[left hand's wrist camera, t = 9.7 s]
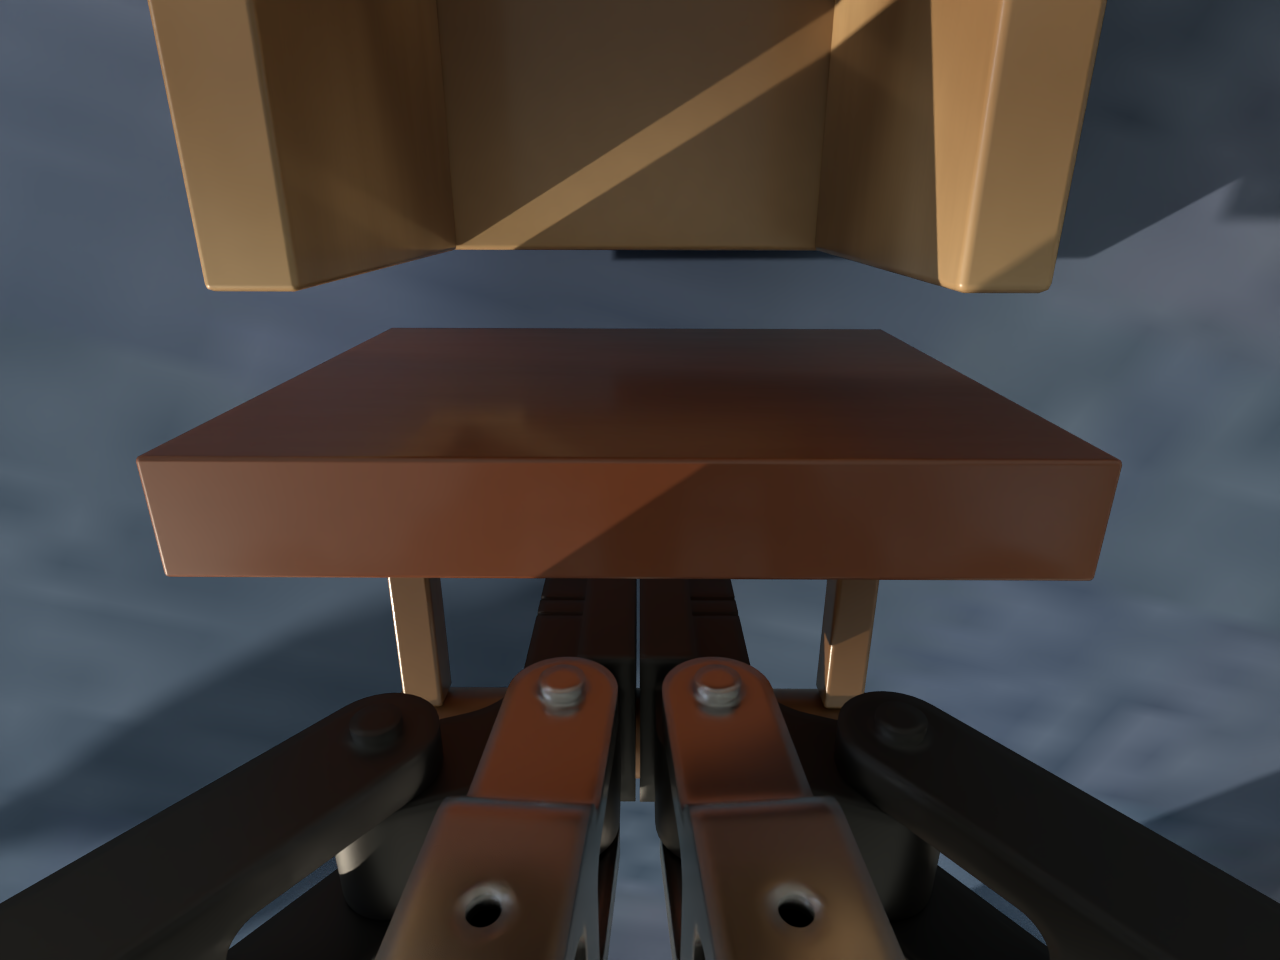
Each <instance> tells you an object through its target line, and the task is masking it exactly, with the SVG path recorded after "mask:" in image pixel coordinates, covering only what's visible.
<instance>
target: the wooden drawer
mask: <svg viewBox="0 0 1280 960" xmlns="http://www.w3.org/2000/svg"><path fill="white" fill-rule="evenodd" d="M1106 3H1107V0H148V5H149V10H150V15H151V19H152V24H153V29H154V34H155V39H156V44H157V49H158V54H159V59H160V64H161V69H162V74H163V79H164V84H165V88H166V93H167V98H168V103H169V108H170V113H171V118H172V123H173V128H174V133H175V138H176V143H177V148H178V153H179V157H180V162H181V167H182V172H183V177H184V182H185V187H186V192H187V197H188V202H189V207H190V212H191V217H192V222H193V226H194V231H195V236H196V241H197V246H198V251H199V256H200V261H201V266H202V271H203V276H204V281H205V285H206V287H207V288H208V289H210V290H213V291H298V290H302V289H306V288H310V287H313V286H317V285H321V284H325V283H329V282H333V281H336V280H340V279H344V278H348V277H352V276H356V275H359V274H363V273H367V272H371V271H375V270H379V269H382V268H386V267H390V266H394V265H398V264H402V263H405V262H409V261H413V260H417V259H421V258H425V257H428V256H432V255H436V254H440V253H444V252H448V251H451V250H809V251H821V252H824V253H828V254H831V255H835V256H838V257H842V258H845V259H848V260H852V261H855V262H859V263H862V264H866V265H869V266H873V267H876V268H880V269H883V270H886V271H890V272H893V273H897V274H900V275H904V276H907V277H911V278H914V279H917V280H921V281H924V282H928V283H931V284H935V285H938V286H942V287H945V288H949V289H952V290H955V291H959V292H962V293H1040V292H1043V291H1045V290H1048V289H1049V287H1050V285H1051V283H1052V278H1053V273H1054V268H1055V263H1056V258H1057V253H1058V247H1059V242H1060V237H1061V232H1062V227H1063V222H1064V217H1065V212H1066V207H1067V202H1068V196H1069V191H1070V186H1071V181H1072V176H1073V171H1074V166H1075V161H1076V156H1077V151H1078V145H1079V140H1080V135H1081V130H1082V125H1083V120H1084V115H1085V110H1086V105H1087V100H1088V94H1089V89H1090V84H1091V79H1092V74H1093V69H1094V64H1095V59H1096V54H1097V49H1098V43H1099V38H1100V33H1101V28H1102V23H1103V18H1104V13H1105V8H1106ZM136 463H137V467H138V471H139V474H140V478H141V482H142V486H143V490H144V494H145V498H146V502H147V506H148V509H149V513H150V517H151V521H152V525H153V529H154V533H155V537H156V541H157V544H158V548H159V552H160V556H161V560H162V564H163V568H164V572H165V574H166V575H167V576H169V577H385V578H388V585H389V592H390V600H391V607H392V614H393V622H394V629H395V636H396V644H397V651H398V658H399V666H400V673H401V681H402V688H403V691H402V692H401V693H406V694H412V695H416V696H419V697H421V698H423V699H425V700H427V701H428V702H430V703H431V704H432V705H433V706H434V707H435V709H436V710H437V713H438V715H439V719H443V718H447V717H452V716H456V715H460V714H465V713H469V712H473V711H476V710H479V709H482V708H485V707H487V706H489V705H491V704H493V703H495V702H497V701H499V700H500V699H502V698H503V697H505V694H506V691H507V689H508V687H450V685H451V675H450V665H449V656H448V647H447V637H446V628H445V619H444V609H443V600H442V590H441V581H440V578H609V579H827V587H826V597H825V606H824V616H823V625H822V635H821V644H820V654H819V663H818V673H817V682H816V686H817V688H818V689H773V691H774V694H775V697H776V699H777V702H779V703H781V704H783V705H785V706H787V707H790V708H792V709H795V710H798V711H801V712H805V713H809V714H813V715H818V716H822V717H826V718H831V719H835V720H838V715H839V712H840V709H841V708H842V706H843V705H844V704H845V703H846V702H847V701H848V700H849V699H851V698H853V697H855V696H857V695H860V694H863V693H865V692H864V690H865V683H866V675H867V668H868V660H869V653H870V645H871V638H872V630H873V623H874V615H875V608H876V601H877V593H878V586H879V580H1058V581H1090V580H1092V579H1093V578H1094V575H1095V571H1096V567H1097V563H1098V559H1099V555H1100V551H1101V547H1102V543H1103V539H1104V535H1105V531H1106V527H1107V523H1108V519H1109V515H1110V511H1111V507H1112V503H1113V499H1114V495H1115V491H1116V487H1117V483H1118V479H1119V475H1120V471H1121V467H1122V462H1121V460H1119V459H1117V458H1115V457H1113V456H1112V455H1110V454H1108V453H1106V452H1104V451H1102V450H1101V449H1099V448H1097V447H1095V446H1093V445H1091V444H1090V443H1088V442H1086V441H1084V440H1082V439H1080V438H1079V437H1077V436H1075V435H1073V434H1071V433H1069V432H1068V431H1066V430H1064V429H1062V428H1060V427H1058V426H1057V425H1055V424H1053V423H1051V422H1049V421H1047V420H1046V419H1044V418H1042V417H1040V416H1038V415H1036V414H1035V413H1033V412H1031V411H1029V410H1027V409H1025V408H1024V407H1022V406H1020V405H1018V404H1016V403H1014V402H1013V401H1011V400H1009V399H1007V398H1005V397H1003V396H1002V395H1000V394H998V393H996V392H994V391H992V390H991V389H989V388H987V387H985V386H983V385H982V384H980V383H978V382H976V381H974V380H972V379H971V378H969V377H967V376H965V375H963V374H961V373H960V372H958V371H956V370H954V369H952V368H950V367H949V366H947V365H945V364H943V363H941V362H939V361H938V360H936V359H934V358H932V357H930V356H928V355H927V354H925V353H923V352H921V351H919V350H917V349H916V348H914V347H912V346H910V345H908V344H906V343H905V342H903V341H901V340H899V339H897V338H895V337H894V336H892V335H890V334H888V333H886V332H884V331H883V330H880V329H569V328H391V329H389V330H387V331H385V332H383V333H381V334H379V335H377V336H375V337H373V338H371V339H369V340H367V341H365V342H363V343H361V344H359V345H357V346H355V347H353V348H351V349H349V350H347V351H345V352H344V353H342V354H340V355H338V356H336V357H334V358H332V359H330V360H328V361H326V362H324V363H322V364H320V365H318V366H316V367H314V368H312V369H310V370H308V371H306V372H304V373H302V374H300V375H298V376H296V377H294V378H292V379H290V380H288V381H286V382H284V383H282V384H280V385H278V386H276V387H274V388H272V389H270V390H268V391H267V392H265V393H263V394H261V395H259V396H257V397H255V398H253V399H251V400H249V401H247V402H245V403H243V404H241V405H239V406H237V407H235V408H233V409H231V410H229V411H227V412H225V413H223V414H221V415H219V416H217V417H215V418H213V419H211V420H209V421H207V422H205V423H203V424H201V425H199V426H197V427H195V428H193V429H191V430H189V431H188V432H186V433H184V434H182V435H180V436H178V437H176V438H174V439H172V440H170V441H168V442H166V443H164V444H162V445H160V446H158V447H156V448H154V449H152V450H150V451H148V452H146V453H144V454H142V455H140V456H138V457H137V460H136ZM636 778H640V688H636Z"/></svg>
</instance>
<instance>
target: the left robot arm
mask: <svg viewBox="0 0 1280 960" xmlns="http://www.w3.org/2000/svg"><path fill="white" fill-rule="evenodd" d="M636 645H637V598H636V579H609V578H546V579H545V584H544V588H543V592H542V596H541V600H540V604H539V609H538V616H537V617H536V621H535V625H534V630H533V634H532V638H531V642H530V646H529V651H528V655H527V659H526V663H525V667H524V669H523V670H522V671H520V672H519V673H518V674H517V675H516V676H515V677H514V678H513V680H512V681H511V682H510V684H509V686H508V689H507V691H506V694H505V697H503V698H502V699H500V700H499V701H497V702H495V703H493V704H491V705H489V706H487V707H485V708H482V709H479V710H476V711H473V712H469V713H465V714H460V715H456V716H452V717H447V718H443V719H439V715H438V713H437V710H436V709H435V707H434V706H433V705H432V704H431V703H430V702H428V701H427V700H425V699H423V698H421V697H419V696H416V695H412V694H406V693H385V694H379V695H374V696H370V697H366V698H363V699H361V700H358V701H355V702H353V703H351V704H349V705H347V706H345V707H343V708H342V709H340V710H338V711H336V712H335V713H333V714H331V715H329V716H328V717H326V718H324V719H322V720H321V721H319V722H317V723H315V724H314V725H312V726H310V727H308V728H307V729H305V730H303V731H301V732H300V733H298V734H296V735H294V736H293V737H291V738H289V739H287V740H286V741H284V742H282V743H280V744H279V745H277V746H275V747H273V748H272V749H270V750H268V751H266V752H265V753H263V754H261V755H259V756H258V757H256V758H254V759H252V760H251V761H249V762H247V763H245V764H244V765H242V766H240V767H238V768H237V769H235V770H233V771H231V772H230V773H228V774H226V775H224V776H223V777H221V778H219V779H217V780H216V781H214V782H212V783H210V784H209V785H207V786H205V787H203V788H202V789H200V790H198V791H196V792H195V793H193V794H191V795H189V796H188V797H186V798H184V799H182V800H181V801H179V802H177V803H175V804H174V805H172V806H170V807H168V808H167V809H165V810H163V811H161V812H160V813H158V814H156V815H154V816H153V817H151V818H149V819H147V820H146V821H144V822H142V823H140V824H139V825H137V826H135V827H133V828H132V829H130V830H128V831H126V832H125V833H123V834H121V835H119V836H118V837H116V838H114V839H112V840H111V841H109V842H107V843H105V844H104V845H102V846H100V847H98V848H97V849H95V850H93V851H91V852H90V853H88V854H86V855H84V856H83V857H81V858H79V859H77V860H76V861H74V862H72V863H70V864H69V865H67V866H65V867H63V868H62V869H60V870H58V871H56V872H55V873H53V874H51V875H49V876H48V877H46V878H44V879H42V880H41V881H39V882H37V883H35V884H34V885H32V886H30V887H28V888H27V889H25V890H23V891H21V892H20V893H18V894H16V895H14V896H13V897H11V898H9V899H7V900H6V901H4V902H2V903H0V960H608V952H609V943H610V935H611V927H612V918H613V910H614V901H615V893H616V884H617V876H618V868H619V859H620V801H635V781H636ZM640 802H655V824H656V830H657V833H658V836H659V838H660V860H661V868H662V876H663V885H664V893H665V902H666V910H667V918H668V927H669V935H670V944H671V952H672V960H1280V903H1278V902H1276V901H1274V900H1273V899H1271V898H1269V897H1267V896H1266V895H1264V894H1262V893H1260V892H1259V891H1257V890H1255V889H1253V888H1252V887H1250V886H1248V885H1246V884H1245V883H1243V882H1241V881H1239V880H1238V879H1236V878H1234V877H1232V876H1231V875H1229V874H1227V873H1225V872H1224V871H1222V870H1220V869H1218V868H1217V867H1215V866H1213V865H1211V864H1210V863H1208V862H1206V861H1204V860H1203V859H1201V858H1199V857H1197V856H1196V855H1194V854H1192V853H1190V852H1189V851H1187V850H1185V849H1183V848H1182V847H1180V846H1178V845H1176V844H1175V843H1173V842H1171V841H1169V840H1168V839H1166V838H1164V837H1162V836H1161V835H1159V834H1157V833H1155V832H1154V831H1152V830H1150V829H1148V828H1147V827H1145V826H1143V825H1141V824H1140V823H1138V822H1136V821H1134V820H1133V819H1131V818H1129V817H1127V816H1126V815H1124V814H1122V813H1120V812H1119V811H1117V810H1115V809H1113V808H1112V807H1110V806H1108V805H1106V804H1105V803H1103V802H1101V801H1099V800H1098V799H1096V798H1094V797H1092V796H1091V795H1089V794H1087V793H1085V792H1084V791H1082V790H1080V789H1078V788H1077V787H1075V786H1073V785H1071V784H1070V783H1068V782H1066V781H1064V780H1063V779H1061V778H1059V777H1057V776H1056V775H1054V774H1052V773H1050V772H1049V771H1047V770H1045V769H1043V768H1042V767H1040V766H1038V765H1036V764H1035V763H1033V762H1031V761H1029V760H1028V759H1026V758H1024V757H1022V756H1021V755H1019V754H1017V753H1015V752H1014V751H1012V750H1010V749H1008V748H1007V747H1005V746H1003V745H1001V744H1000V743H998V742H996V741H994V740H993V739H991V738H989V737H987V736H986V735H984V734H982V733H980V732H979V731H977V730H975V729H973V728H972V727H970V726H968V725H966V724H965V723H963V722H961V721H959V720H958V719H956V718H954V717H952V716H951V715H949V714H947V713H945V712H944V711H942V710H940V709H938V708H937V707H935V706H933V705H931V704H929V703H927V702H925V701H923V700H921V699H918V698H916V697H913V696H909V695H906V694H901V693H896V692H886V691H876V692H868V693H863V694H860V695H857V696H855V697H853V698H851V699H849V700H848V701H847V702H846V703H845V704H844V705H843V706H842V708H841V709H840V712H839V715H838V720H835V719H831V718H826V717H822V716H818V715H813V714H809V713H805V712H801V711H798V710H795V709H792V708H790V707H787V706H785V705H783V704H781V703H779V702H777V699H776V697H775V694H774V691H773V689H772V686H771V685H770V683H769V681H768V680H767V678H766V677H765V676H764V675H763V674H762V673H761V672H759V671H758V670H757V669H755V668H754V667H752V666H750V662H749V658H748V654H747V649H746V645H745V640H744V636H743V632H742V627H741V623H740V619H739V616H738V610H737V606H736V601H735V599H734V592H733V588H732V584H731V579H640ZM940 852H941V853H942V854H943V855H945V856H946V857H948V858H949V859H950V860H952V861H953V862H954V863H956V864H957V865H959V866H960V867H961V868H963V869H964V870H965V871H967V872H968V873H970V874H971V875H972V876H974V877H975V878H976V879H978V880H979V881H981V882H982V883H983V884H985V885H986V886H987V887H989V888H990V889H992V890H993V891H994V892H996V893H997V894H998V895H1000V896H1001V897H1003V898H1004V899H1005V900H1007V901H1008V902H1010V903H1011V904H1012V905H1014V906H1015V907H1016V908H1018V909H1019V910H1020V911H1021V912H1023V913H1024V914H1025V915H1026V916H1027V917H1028V918H1029V919H1030V920H1031V921H1032V922H1033V923H1034V924H1035V926H1036V927H1037V928H1038V930H1039V931H1040V933H1041V934H1042V936H1043V938H1044V940H1045V942H1046V944H1047V946H1046V945H1044V944H1043V943H1042V942H1040V941H1039V940H1038V939H1036V938H1035V937H1034V936H1032V935H1031V934H1030V933H1028V932H1027V931H1026V930H1024V929H1023V928H1022V927H1020V926H1019V925H1018V924H1016V923H1015V922H1014V921H1012V920H1011V919H1009V918H1008V917H1007V916H1005V915H1004V914H1003V913H1001V912H1000V911H999V910H997V909H996V908H995V907H993V906H992V905H991V904H989V903H988V902H987V901H985V900H984V899H983V898H981V897H980V896H979V895H977V894H976V893H974V892H973V891H972V890H970V889H969V888H968V887H966V886H965V885H964V884H962V883H961V882H960V881H958V880H957V879H956V878H954V877H953V876H952V875H950V874H949V873H948V872H946V871H945V870H944V869H942V868H941V867H939V866H938V865H937V864H938V859H939V854H940ZM334 856H335V857H336V862H337V867H338V869H336V870H335V871H334V872H332V873H331V874H330V875H328V876H327V877H326V878H324V879H323V880H322V881H320V882H319V883H318V884H316V885H315V886H314V887H312V888H311V889H310V890H308V891H307V892H306V893H304V894H303V895H301V896H300V897H299V898H297V899H296V900H295V901H293V902H292V903H291V904H289V905H288V906H287V907H285V908H284V909H283V910H281V911H280V912H279V913H277V914H276V915H275V916H273V917H272V918H271V919H269V920H268V921H266V922H265V923H264V924H262V925H261V926H260V927H258V928H257V929H256V930H254V931H253V932H252V933H250V934H249V935H248V936H246V937H245V938H244V939H242V940H241V941H240V942H238V943H237V944H236V945H234V946H233V947H231V948H230V949H229V947H230V944H231V942H232V941H233V939H234V937H235V935H236V934H237V933H238V931H239V930H240V929H241V927H242V926H243V925H244V924H245V923H246V922H247V921H248V920H249V919H250V918H251V917H252V916H253V915H254V914H256V913H257V912H258V911H259V910H261V909H262V908H264V907H265V906H266V905H268V904H269V903H270V902H272V901H273V900H275V899H276V898H277V897H279V896H280V895H281V894H283V893H284V892H286V891H287V890H288V889H290V888H291V887H293V886H294V885H295V884H297V883H298V882H299V881H301V880H302V879H304V878H305V877H306V876H308V875H309V874H310V873H312V872H313V871H315V870H316V869H317V868H319V867H320V866H321V865H323V864H324V863H326V862H327V861H328V860H330V859H331V858H332V857H334ZM228 949H229V950H228Z"/></svg>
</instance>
